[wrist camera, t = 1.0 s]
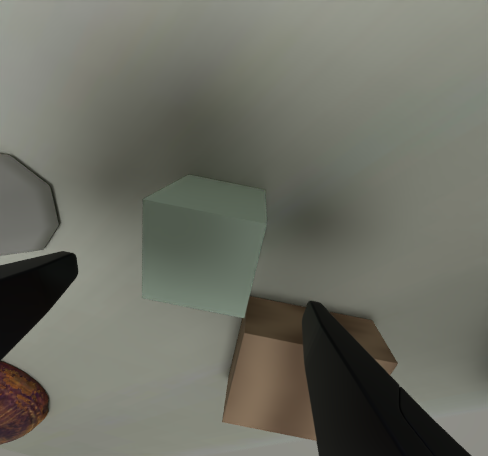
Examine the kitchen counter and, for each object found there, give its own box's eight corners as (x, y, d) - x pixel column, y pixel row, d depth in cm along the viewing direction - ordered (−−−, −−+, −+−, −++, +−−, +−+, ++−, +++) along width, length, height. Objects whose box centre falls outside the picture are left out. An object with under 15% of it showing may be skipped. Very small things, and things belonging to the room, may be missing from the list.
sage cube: (265, 189, 14) (267, 223, 9) (250, 256, 16) (244, 318, 11) (188, 174, 14) (142, 199, 9) (182, 242, 16) (142, 298, 11)
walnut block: (370, 316, 18) (397, 363, 14) (329, 393, 22) (343, 445, 18) (248, 292, 18) (244, 333, 14) (229, 373, 22) (222, 422, 18)
